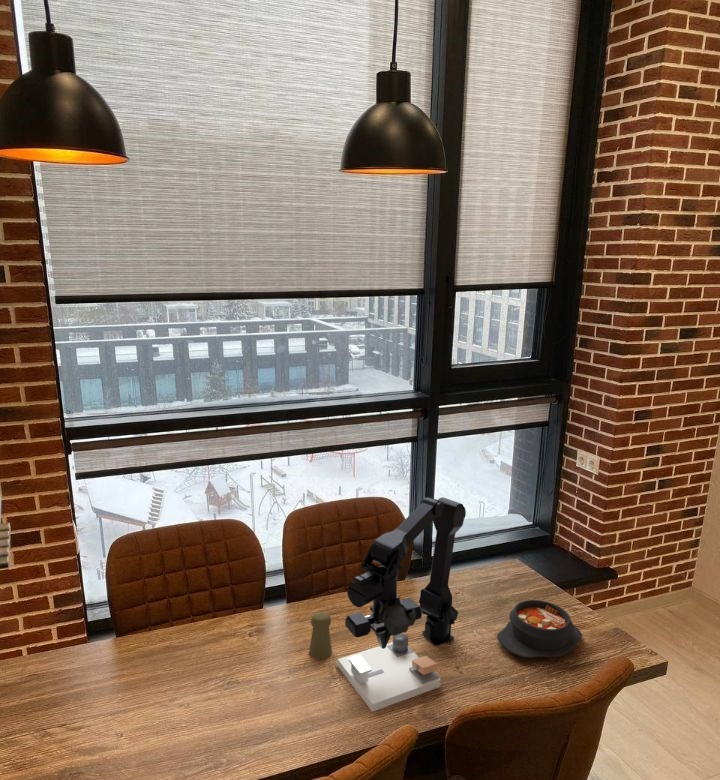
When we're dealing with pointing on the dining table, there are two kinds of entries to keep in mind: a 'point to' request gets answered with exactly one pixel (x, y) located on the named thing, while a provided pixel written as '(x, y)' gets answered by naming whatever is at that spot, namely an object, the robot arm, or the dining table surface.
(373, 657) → the panel
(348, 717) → the dining table surface
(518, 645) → the casserole
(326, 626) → the olive pawn
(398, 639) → the button
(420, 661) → the peach slab
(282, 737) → the dining table surface
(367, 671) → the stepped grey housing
